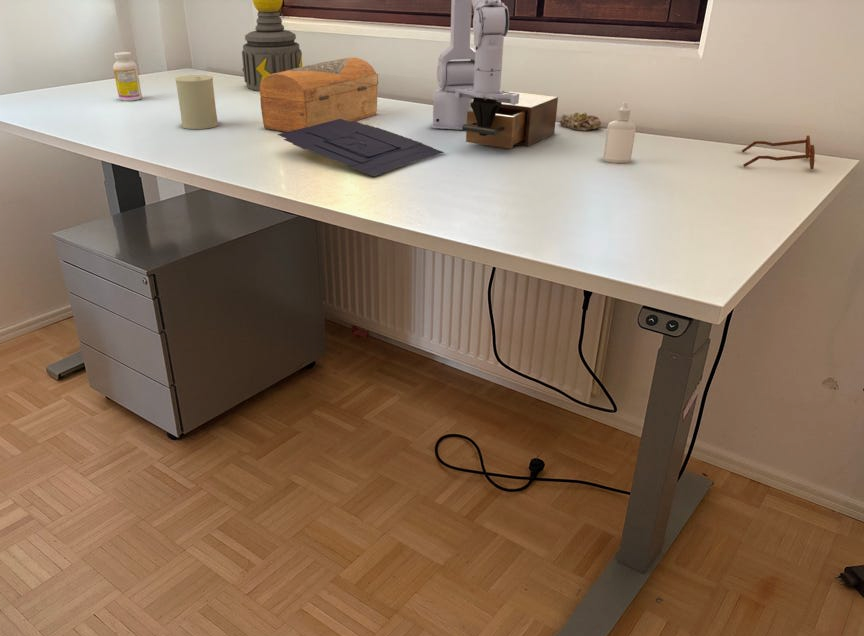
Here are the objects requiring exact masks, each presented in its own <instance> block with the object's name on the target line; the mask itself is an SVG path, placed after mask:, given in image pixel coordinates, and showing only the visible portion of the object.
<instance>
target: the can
mask: <svg viewBox="0 0 864 636" xmlns="http://www.w3.org/2000/svg"><path fill="white" fill-rule="evenodd" d="M174 79H175V84H176V85H175V86H176V91H177V97H178V104H179V111H180V119H181V127H182V128H183V129H186V130H207V129H212V128H216V127H217V126H219V121H218V114H217V107H216V106H217V105H216V98H215V90H214V78H213V76H211V75H208V74H207V75H206V74H191V75H189V74H188V75H182V76H177V77H176V78H174Z"/></svg>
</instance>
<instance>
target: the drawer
mask: <svg viewBox="0 0 864 636" xmlns="http://www.w3.org/2000/svg"><path fill="white" fill-rule="evenodd" d="M527 112H528V111H526V110H518V109H510V108H502V107H499V109H498V111H497V113H496V115H495V117H494V119H493V122H492V125H491V128H489V127H482V126H478V124H477V120H476V117H475V114H474V112H473V110H472V111H471V110H470V111H467V124H464V125H463V127H462V130H461V131H464V132H465V135H466V136H465V142H466V143H469V144H476V145H477V144H478V145H483V146H490V147H495V148H503V149H509V150H512V149H513V148H514V146H515V145H514V144H516V143H518V142H520V141H523V140H525V136H526V124H527ZM479 133H483V134H489V135H486V136H481V135H479Z"/></svg>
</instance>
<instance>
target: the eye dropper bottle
mask: <svg viewBox="0 0 864 636" xmlns="http://www.w3.org/2000/svg"><path fill="white" fill-rule="evenodd" d="M616 114H617V115H616V120H612V121H610V122H608V125H607V129H606V134H605V135H606V136H605V142H604V148H603V149H604V151H603V158H602V159H603V161H604V162H606V163H607V162H608V163H612V164H613V163H614V164H629V163H630V162H631V161H632V154H633V149H634V142H635V136H636V129H637V127H636V123H635V122H633V121H630V115H631V109H630V108H629V106H628V101H623V103H622V106H621V107H620V108H618V109H617V113H616Z"/></svg>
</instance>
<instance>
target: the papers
mask: <svg viewBox="0 0 864 636" xmlns="http://www.w3.org/2000/svg"><path fill="white" fill-rule="evenodd" d="M276 135H277V136H279V137H281V138H283V140H284V141H285V142H288V143H290V144H292V145H293V146H295V147H297V148H301V149H303V150H307V151H309V152H312V153H315V154H316V155H319V156H322V157H325V158H326V159H327V158H328V159H330V160H333V161H335V162H337V163H339V164H342V165H345V166H347V167H349V168H351V169H352V170H353V169H354V170H356V171H359V172H361V173H364V174H366V175H369V176H372V177H375V176H379V175H381V174H384V173H387V172H389V171H393V170H395V169H397V168H400V167H403V166H405V165H408V164H410V163H414V162H417V161H421V160H425V159H427V158H431V157H435V156H437V155H441V154H444V153H445V151H442V150H439V149H437V148H434V147H432V146H430V145H427V144H424V143H423V142H420V141H418V140H415V139H411V138H409V137H407V136H403V135H399V134H398V133H395V132H391V131H389V130H386V129H383V128H380V127H377V126H376V127H375V126H372V125H369V124H364V123H361V122H358V121H353V122H348V121H346V120H343V119H337V120H333V121H329V122H325V123H322V124H318V125H314V126H310V127H306V128H302V129H297V130H293V131H289V132H285V131H284V132H281V133H277V134H276Z"/></svg>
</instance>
